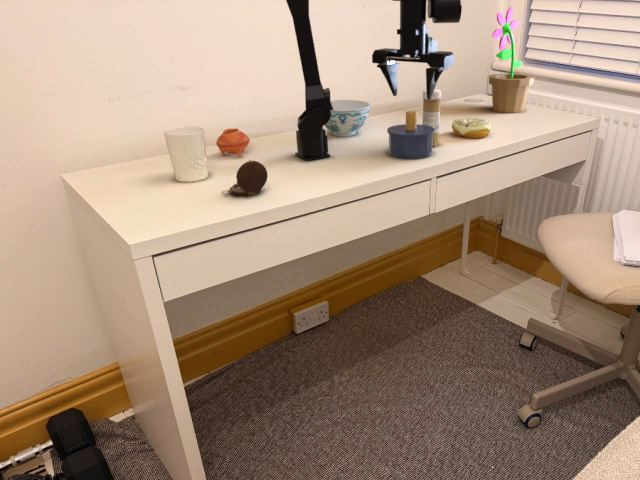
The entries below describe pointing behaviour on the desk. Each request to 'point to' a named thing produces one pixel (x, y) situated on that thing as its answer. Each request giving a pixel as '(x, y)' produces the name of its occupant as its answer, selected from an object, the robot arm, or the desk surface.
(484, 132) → the decorated donut
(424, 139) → the tin
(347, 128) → the chinaware
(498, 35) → the flowerpot
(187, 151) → the white cup
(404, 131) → the tin lid
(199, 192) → the desk surface
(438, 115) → the sprinkles bottle
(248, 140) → the pot
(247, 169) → the compass
